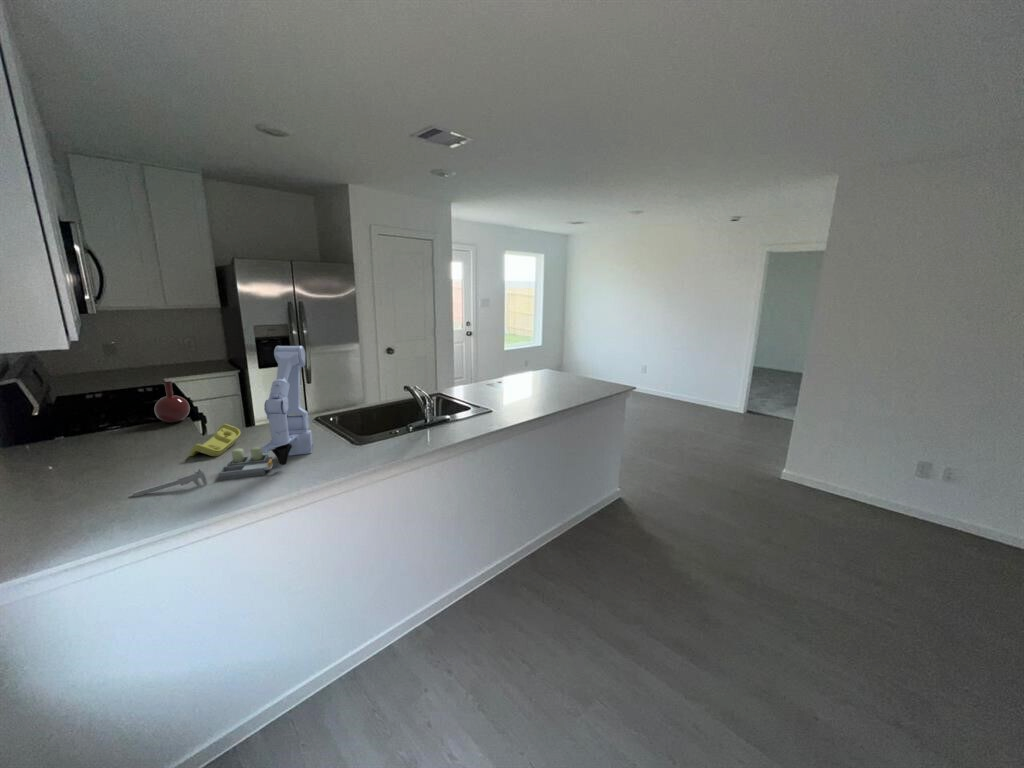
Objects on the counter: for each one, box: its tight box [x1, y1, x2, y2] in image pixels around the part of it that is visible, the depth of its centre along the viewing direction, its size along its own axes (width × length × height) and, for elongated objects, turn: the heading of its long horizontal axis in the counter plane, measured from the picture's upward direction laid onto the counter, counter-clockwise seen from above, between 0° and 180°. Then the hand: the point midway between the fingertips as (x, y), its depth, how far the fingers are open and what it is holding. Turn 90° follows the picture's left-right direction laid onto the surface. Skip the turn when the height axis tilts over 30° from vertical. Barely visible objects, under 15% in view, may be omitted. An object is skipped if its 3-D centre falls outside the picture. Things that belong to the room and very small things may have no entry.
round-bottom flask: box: [153, 380, 191, 423], centre depth 192 cm, size 13×13×20 cm
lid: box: [242, 458, 274, 471], centre depth 146 cm, size 9×4×3 cm, turn 110°
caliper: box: [128, 468, 208, 498], centre depth 132 cm, size 20×1×6 cm, turn 117°
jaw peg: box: [231, 447, 245, 463], centre depth 150 cm, size 4×4×6 cm
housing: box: [218, 446, 273, 480], centre depth 148 cm, size 14×13×7 cm
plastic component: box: [188, 423, 241, 457], centre depth 166 cm, size 20×7×10 cm
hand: (283, 463), depth 149 cm, fingers closed
